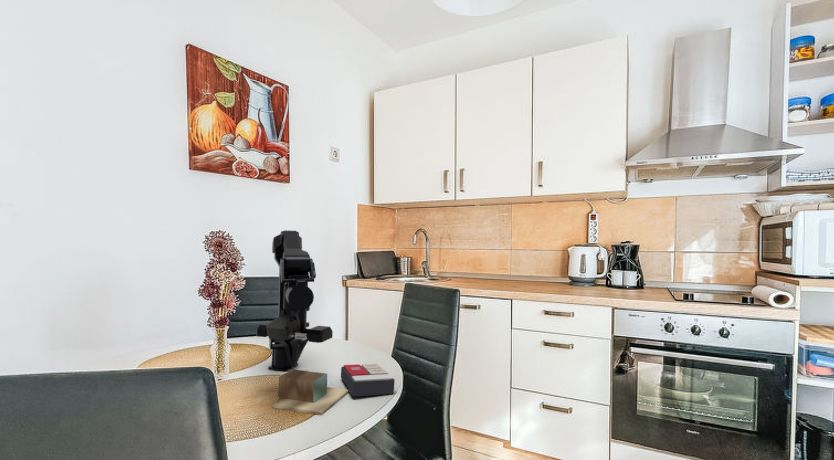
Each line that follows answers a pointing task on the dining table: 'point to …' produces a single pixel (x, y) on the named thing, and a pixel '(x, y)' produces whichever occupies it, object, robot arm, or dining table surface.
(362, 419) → the dining table surface
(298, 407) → the beige cloth
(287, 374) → the walnut block
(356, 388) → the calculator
